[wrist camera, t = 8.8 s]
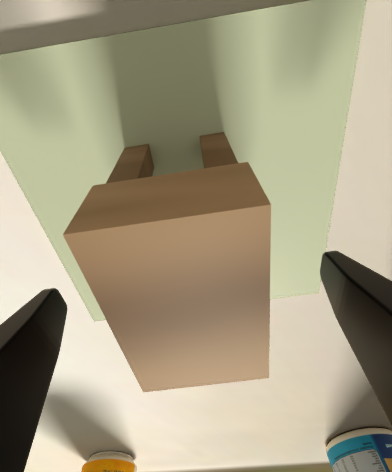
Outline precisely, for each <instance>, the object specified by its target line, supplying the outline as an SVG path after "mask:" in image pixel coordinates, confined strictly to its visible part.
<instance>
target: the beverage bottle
mask: <svg viewBox="0 0 392 472" xmlns="http://www.w3.org/2000/svg"><path fill="white" fill-rule="evenodd" d="M326 452H327V456H328V458H329V461H330V464H331V466H332V468H333V471H334V472H392V431H391V430H388V429H384V428H364V429H358V430H354V431H350V432H347V433H344V434H342V435H339V436H337V437H336V438H334V439H333V440H331V441H330V442H329V443H328V445H327V448H326Z"/></svg>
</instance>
